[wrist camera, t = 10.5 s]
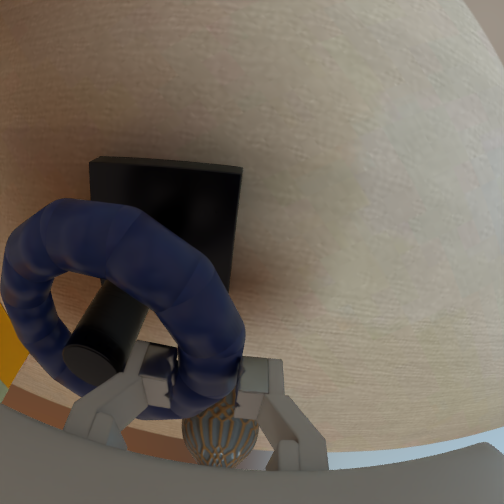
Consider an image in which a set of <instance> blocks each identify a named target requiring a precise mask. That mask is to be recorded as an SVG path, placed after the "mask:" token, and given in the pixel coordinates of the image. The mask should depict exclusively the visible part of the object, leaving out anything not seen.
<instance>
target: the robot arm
mask: <svg viewBox="0 0 504 504" xmlns="http://www.w3.org/2000/svg"><path fill="white" fill-rule="evenodd" d="M177 355H178V351H177V347H172V346H167V345H162V344H157V343H152V342H146V341H141V340H137V341H136V342H135V344H134V347H133V349H132V352H131V354H130V357H129V359H128V362H127V364H126V367H125V369H124V372H119V373H117V374H116V375H114V376H113V377H111V378H110V379H108V380H107V381H106V382H104V383H103V384H101V385H100V386H98V387H97V388H95V389H94V390H92V391H91V392H89V393H88V394H86V395H85V396H83V397H82V398H80V399H79V400H77V401H76V402H74V404H73V407H72V409H71V412H70V414H69V416H68V418H67V421H66V424H65V426H64V428H63V430H61V429H58V428H55V427H53V426H50V425H48V424H45V423H43V422H40V421H38V420H36V419H33V418H31V417H29V416H27V415H25V414H22V413H20V412H18V411H16V410H14V409H12V408H10V407H8V406H6V405H4V404H2V403H0V504H504V455H503V454H502V453H501V452H500V451H499V450H497V449H496V448H495V447H494V446H492V445H491V444H489V443H487V442H482V443H477V444H475V445H471V446H468V447H464V448H461V449H457V450H453V451H450V452H446V453H442V454H438V455H434V456H429V457H424V458H420V459H415V460H409V461H405V462H399V463H392V464H385V465H379V466H371V467H362V468H352V469H340V470H329V467H328V457H327V449H326V440H325V438H324V437H323V436H322V435H321V434H320V433H319V431H318V430H317V429H316V428H315V427H314V426H313V424H312V423H311V422H310V421H309V420H308V418H307V417H306V416H305V415H304V414H303V412H302V411H301V410H300V409H299V408H298V406H297V405H296V404H295V403H294V402H293V400H292V399H291V398H290V397H289V396H288V395H285V393H284V376H283V361H282V359H271V358H268V359H267V358H262V357H250V356H240V361H239V369H238V373H237V380H236V391H235V393H236V397H235V405H234V418H242V419H251V420H257V423H258V425H259V426H260V428H261V429H262V431H263V433H264V434H265V436H266V438H267V439H268V441H269V442H270V444H271V446H272V447H273V449H274V452H273V454H272V457H271V458H270V460H269V462H268V464H267V466H266V471H261V470H243V469H232V468H222V467H213V466H205V465H198V464H191V463H184V462H178V461H173V460H167V459H162V458H157V457H153V456H148V455H143V454H139V453H135V452H131V451H127V445H126V443H125V441H124V439H123V437H122V435H121V433H120V432H121V431H122V430H123V429H124V428H125V427H126V426H127V425H128V424H130V423H131V422H132V421H133V420H134V419H135V418H136V417H137V416H138V415H139V414H140V413H141V412H142V411H143V410H145V409H146V408H147V407H148V405H152V406H157V407H163V408H170V407H171V403H172V399H173V395H174V394H173V387H174V386H175V385H176V381H177V376H178V361H177V360H176V359H177Z"/></svg>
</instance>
